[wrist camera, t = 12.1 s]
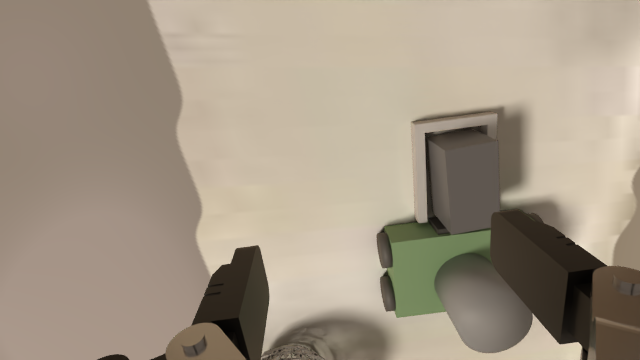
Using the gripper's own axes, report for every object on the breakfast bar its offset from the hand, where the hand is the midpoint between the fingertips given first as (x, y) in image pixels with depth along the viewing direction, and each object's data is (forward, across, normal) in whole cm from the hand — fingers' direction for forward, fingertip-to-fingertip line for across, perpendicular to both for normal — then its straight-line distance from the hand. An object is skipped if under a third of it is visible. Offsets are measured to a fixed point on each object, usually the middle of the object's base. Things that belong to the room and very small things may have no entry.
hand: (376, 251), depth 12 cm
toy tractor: (+27, -13, +14) cm, 33 cm away
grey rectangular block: (+27, -13, +8) cm, 31 cm away
